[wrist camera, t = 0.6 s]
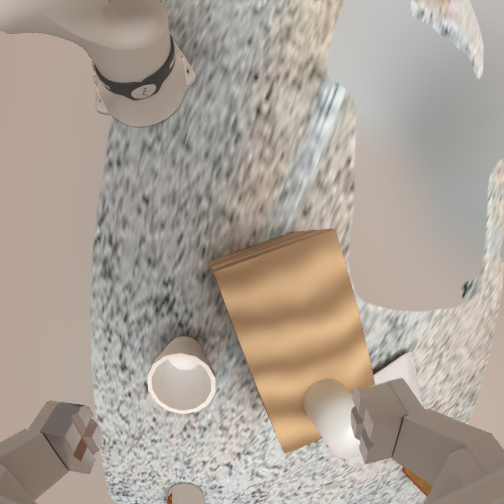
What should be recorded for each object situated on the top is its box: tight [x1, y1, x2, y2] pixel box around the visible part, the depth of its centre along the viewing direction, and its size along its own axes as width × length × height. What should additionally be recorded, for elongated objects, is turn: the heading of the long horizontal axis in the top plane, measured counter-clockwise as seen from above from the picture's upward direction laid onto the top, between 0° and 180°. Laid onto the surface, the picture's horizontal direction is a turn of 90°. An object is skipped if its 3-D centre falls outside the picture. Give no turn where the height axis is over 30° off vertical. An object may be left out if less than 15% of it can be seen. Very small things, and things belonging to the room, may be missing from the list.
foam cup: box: [147, 336, 215, 414], centre depth 47 cm, size 10×9×13 cm
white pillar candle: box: [302, 378, 361, 459], centre depth 33 cm, size 6×6×10 cm
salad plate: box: [345, 352, 423, 466], centre depth 59 cm, size 21×21×3 cm
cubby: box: [209, 229, 375, 453], centre depth 47 cm, size 27×15×18 cm, turn 19°
